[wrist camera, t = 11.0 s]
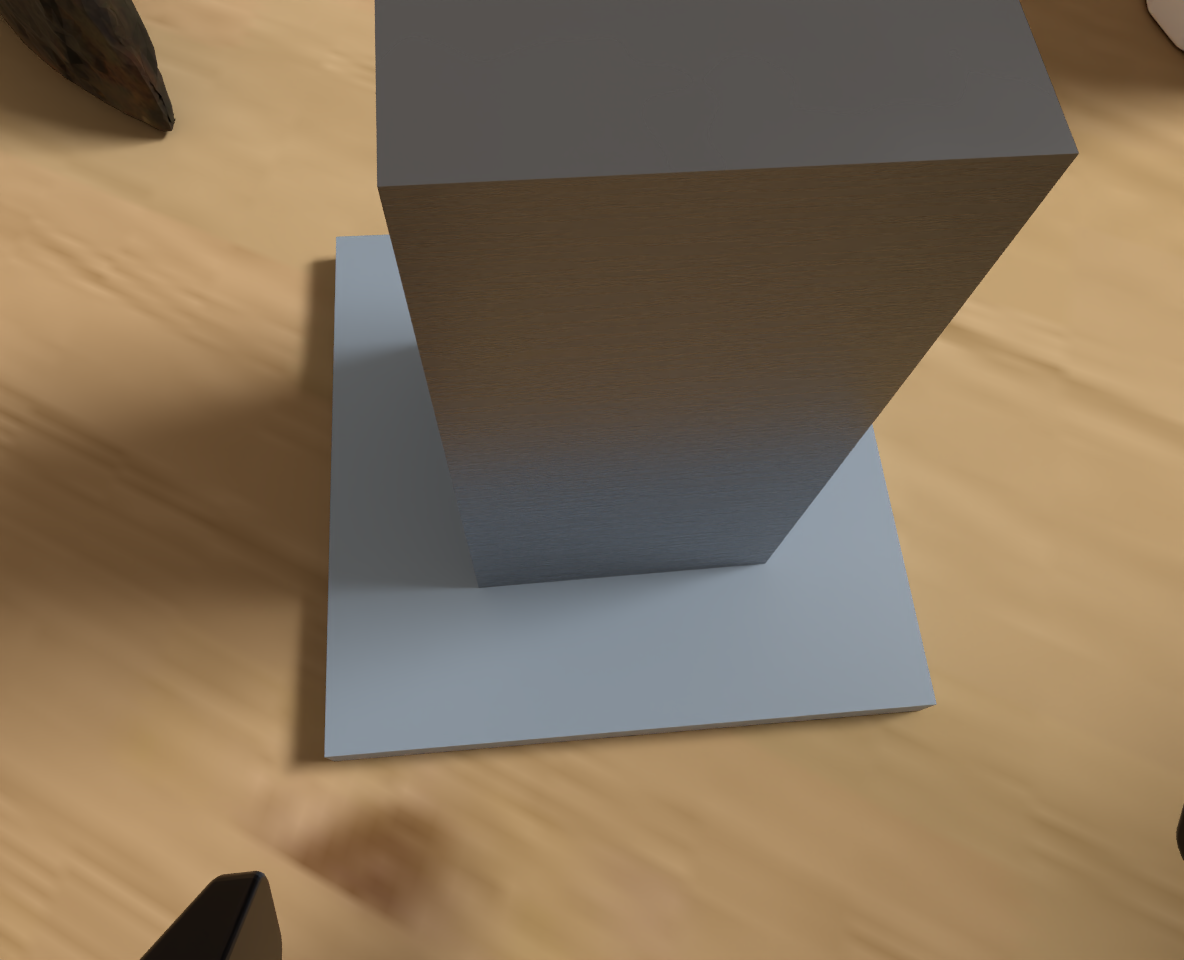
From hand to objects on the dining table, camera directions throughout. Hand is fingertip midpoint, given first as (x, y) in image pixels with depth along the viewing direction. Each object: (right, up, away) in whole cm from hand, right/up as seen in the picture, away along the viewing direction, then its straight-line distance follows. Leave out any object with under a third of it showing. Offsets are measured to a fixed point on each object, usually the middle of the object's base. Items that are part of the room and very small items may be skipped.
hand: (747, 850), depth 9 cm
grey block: (-1, +4, +11) cm, 12 cm away
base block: (-1, +4, +12) cm, 13 cm away
